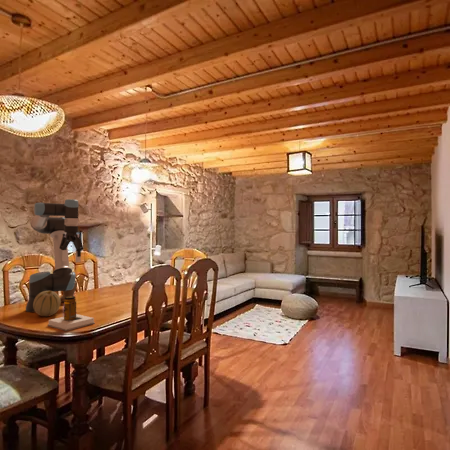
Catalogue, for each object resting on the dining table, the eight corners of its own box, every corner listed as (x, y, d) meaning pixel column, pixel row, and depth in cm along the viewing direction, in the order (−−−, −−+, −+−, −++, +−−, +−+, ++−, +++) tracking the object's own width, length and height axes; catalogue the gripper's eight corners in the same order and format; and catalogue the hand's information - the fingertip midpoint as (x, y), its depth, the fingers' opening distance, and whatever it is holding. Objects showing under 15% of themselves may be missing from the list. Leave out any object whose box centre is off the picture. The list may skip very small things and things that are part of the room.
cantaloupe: (44, 312, 213) (44, 287, 213) (66, 313, 211) (66, 288, 211) (26, 318, 199) (26, 292, 199) (49, 319, 196) (50, 292, 196)
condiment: (60, 319, 185) (60, 297, 185) (74, 316, 192) (75, 294, 192) (68, 321, 181) (68, 298, 181) (82, 318, 188) (83, 296, 188)
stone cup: (75, 302, 242) (75, 280, 242) (56, 303, 239) (57, 281, 239) (78, 298, 256) (79, 277, 257) (61, 299, 253) (61, 278, 253)
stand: (47, 325, 184) (47, 320, 184) (76, 319, 198) (76, 313, 198) (66, 331, 175) (66, 325, 175) (94, 323, 189) (94, 318, 189)
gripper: (53, 225, 210) (53, 260, 210) (78, 225, 196) (78, 263, 196) (65, 225, 216) (64, 260, 216) (90, 225, 202) (89, 262, 202)
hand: (71, 261), depth 206 cm, fingers open, 13 cm apart
